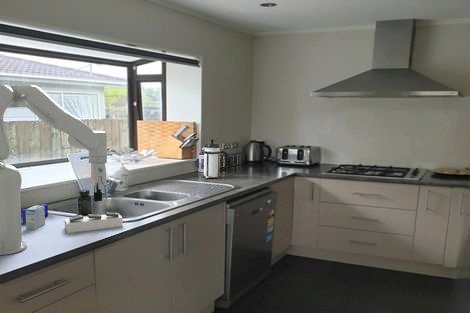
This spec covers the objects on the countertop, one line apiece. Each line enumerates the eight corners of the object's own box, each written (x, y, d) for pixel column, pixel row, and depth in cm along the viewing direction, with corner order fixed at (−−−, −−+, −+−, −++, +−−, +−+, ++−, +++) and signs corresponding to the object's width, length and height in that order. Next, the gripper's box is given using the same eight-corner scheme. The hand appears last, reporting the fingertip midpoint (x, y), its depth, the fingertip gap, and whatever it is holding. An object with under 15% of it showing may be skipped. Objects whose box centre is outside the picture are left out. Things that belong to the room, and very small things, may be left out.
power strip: (67, 233, 165) (67, 223, 164) (64, 227, 172) (64, 218, 171) (122, 226, 176) (122, 217, 176) (118, 221, 183) (118, 212, 182)
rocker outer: (106, 216, 173) (107, 213, 173) (105, 214, 176) (105, 212, 176) (118, 216, 176) (118, 214, 175) (116, 214, 178) (117, 212, 178)
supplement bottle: (74, 214, 192) (73, 190, 191) (84, 211, 198) (84, 188, 197) (84, 216, 189) (84, 192, 188) (95, 213, 196) (94, 189, 194)
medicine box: (35, 223, 176) (35, 205, 175) (45, 224, 176) (44, 205, 175) (25, 229, 168) (25, 209, 167) (36, 229, 168) (35, 209, 167)
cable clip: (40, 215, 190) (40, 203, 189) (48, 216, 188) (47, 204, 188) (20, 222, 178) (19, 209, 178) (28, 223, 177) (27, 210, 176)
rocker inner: (70, 222, 166) (70, 219, 165) (69, 220, 168) (69, 217, 168) (83, 218, 168) (82, 216, 168) (82, 216, 171) (81, 214, 171)
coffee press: (214, 180, 292) (215, 140, 288) (197, 178, 300) (198, 139, 297) (227, 177, 306) (228, 139, 303) (211, 175, 315) (212, 138, 311)
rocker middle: (88, 218, 169) (89, 215, 169) (87, 216, 172) (87, 213, 172) (101, 218, 172) (101, 216, 172) (99, 216, 175) (100, 214, 174)
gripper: (110, 161, 166) (110, 203, 168) (103, 157, 179) (103, 196, 181) (91, 161, 162) (91, 205, 164) (85, 157, 175) (86, 198, 177)
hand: (97, 200), depth 172 cm, fingers closed
